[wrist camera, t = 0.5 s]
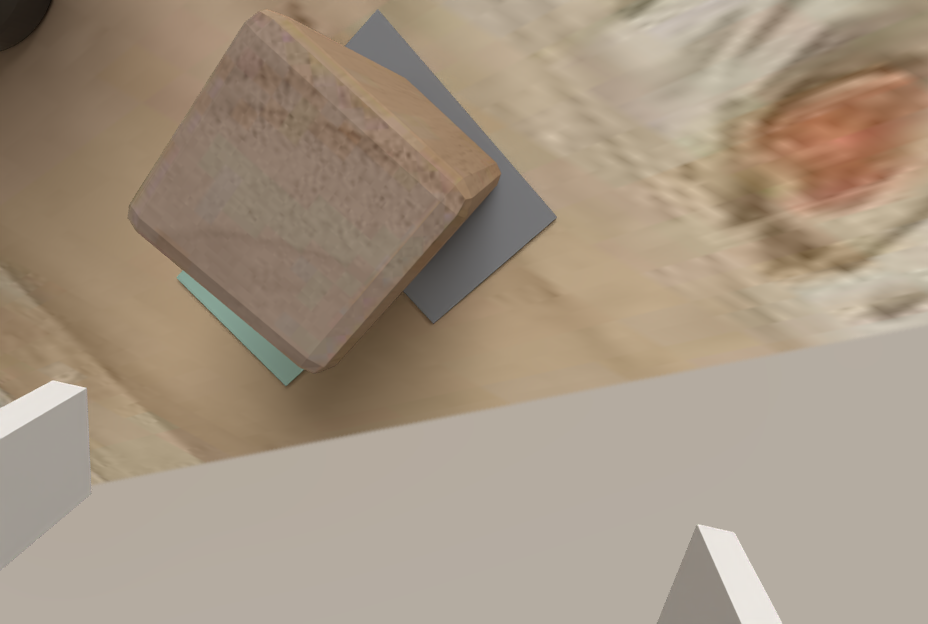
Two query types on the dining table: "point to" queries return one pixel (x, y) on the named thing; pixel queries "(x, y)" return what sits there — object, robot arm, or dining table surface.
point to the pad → (244, 333)
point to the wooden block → (308, 188)
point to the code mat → (494, 221)
